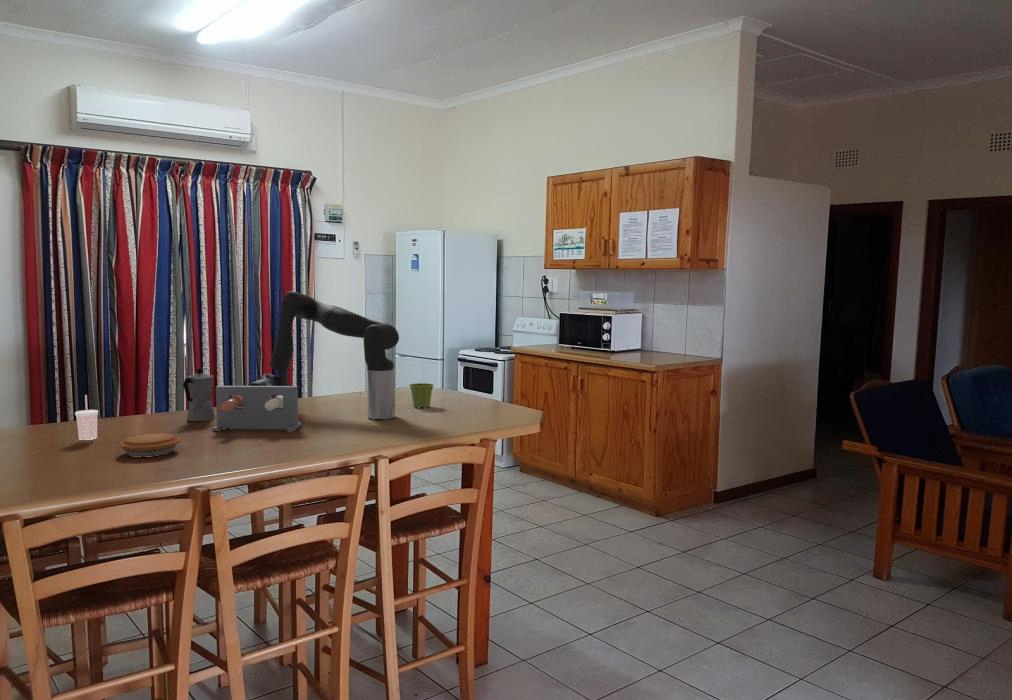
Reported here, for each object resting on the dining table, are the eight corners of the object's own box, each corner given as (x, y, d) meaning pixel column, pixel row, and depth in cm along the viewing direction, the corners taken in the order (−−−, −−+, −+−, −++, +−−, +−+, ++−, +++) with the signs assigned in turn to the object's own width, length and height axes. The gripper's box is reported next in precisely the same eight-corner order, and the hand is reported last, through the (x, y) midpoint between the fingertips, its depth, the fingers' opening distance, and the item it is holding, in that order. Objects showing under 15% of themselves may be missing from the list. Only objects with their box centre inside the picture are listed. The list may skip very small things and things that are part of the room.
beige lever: (291, 405, 249) (290, 391, 248) (277, 413, 234) (276, 398, 233) (276, 405, 249) (276, 391, 248) (261, 413, 234) (261, 398, 233)
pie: (109, 460, 200) (108, 442, 200) (134, 447, 216) (133, 430, 215) (168, 460, 201) (167, 442, 201) (188, 447, 217) (187, 430, 216)
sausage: (249, 406, 246) (248, 392, 245) (232, 415, 231) (231, 399, 230) (234, 406, 246) (234, 392, 245) (217, 415, 231) (216, 399, 230)
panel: (301, 425, 247) (300, 384, 246) (293, 432, 237) (292, 388, 236) (224, 425, 247) (222, 384, 246) (212, 431, 237) (210, 388, 236)
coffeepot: (200, 415, 265) (198, 365, 263) (224, 416, 263) (222, 366, 261) (173, 423, 250) (171, 371, 248) (198, 425, 248) (196, 371, 246)
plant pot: (409, 405, 288) (409, 383, 287) (433, 404, 289) (433, 382, 289) (409, 409, 279) (409, 386, 278) (434, 409, 280) (434, 386, 279)
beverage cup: (73, 443, 220) (70, 396, 218) (81, 439, 226) (78, 393, 224) (95, 442, 221) (92, 396, 219) (102, 438, 227) (100, 393, 226)
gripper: (240, 380, 262) (221, 388, 245) (277, 381, 262) (261, 388, 245) (240, 401, 263) (222, 410, 246) (277, 401, 263) (261, 410, 246)
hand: (241, 399), depth 246 cm, fingers closed
